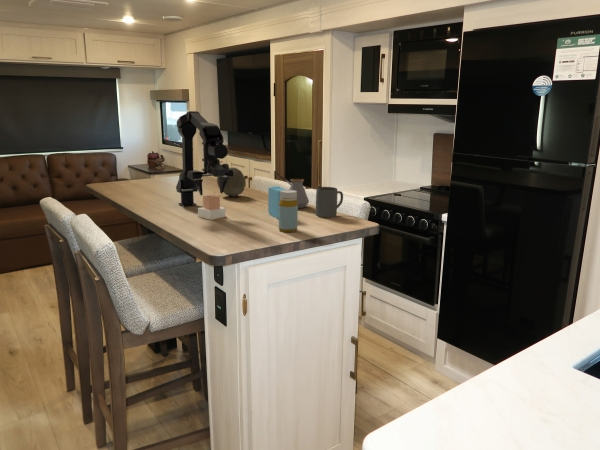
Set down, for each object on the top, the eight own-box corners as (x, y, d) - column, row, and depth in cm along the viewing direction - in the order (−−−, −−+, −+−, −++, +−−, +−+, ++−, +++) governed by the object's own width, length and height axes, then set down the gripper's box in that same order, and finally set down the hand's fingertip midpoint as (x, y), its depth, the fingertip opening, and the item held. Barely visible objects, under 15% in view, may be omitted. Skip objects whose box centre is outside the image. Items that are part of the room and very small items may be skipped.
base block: (198, 217, 197) (197, 208, 196) (212, 214, 203) (212, 205, 202) (211, 220, 192) (210, 210, 192) (225, 217, 199) (225, 207, 198)
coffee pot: (313, 207, 221) (314, 175, 218) (296, 210, 213) (297, 177, 210) (283, 200, 236) (283, 170, 232) (265, 203, 228) (265, 172, 224)
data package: (288, 218, 197) (288, 190, 194) (278, 219, 195) (278, 190, 192) (277, 212, 208) (277, 185, 205) (268, 213, 206) (268, 186, 203)
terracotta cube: (203, 207, 197) (203, 195, 196) (213, 206, 200) (213, 194, 199) (209, 209, 194) (209, 197, 192) (219, 208, 197) (219, 196, 195)
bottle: (278, 228, 181) (278, 189, 178) (296, 228, 182) (297, 189, 178) (279, 232, 174) (279, 192, 171) (297, 232, 175) (298, 192, 171)
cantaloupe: (242, 193, 252) (241, 165, 248) (247, 198, 239) (247, 168, 235) (215, 194, 248) (214, 166, 244) (219, 199, 235) (219, 169, 231)
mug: (324, 219, 198) (325, 190, 195) (311, 215, 205) (312, 187, 202) (348, 215, 205) (350, 188, 203) (335, 211, 213) (336, 185, 210)
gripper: (198, 159, 180) (199, 199, 184) (240, 157, 191) (241, 195, 195) (185, 156, 188) (187, 195, 192) (227, 154, 200) (227, 191, 203)
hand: (211, 194), depth 195 cm, fingers open, 9 cm apart
